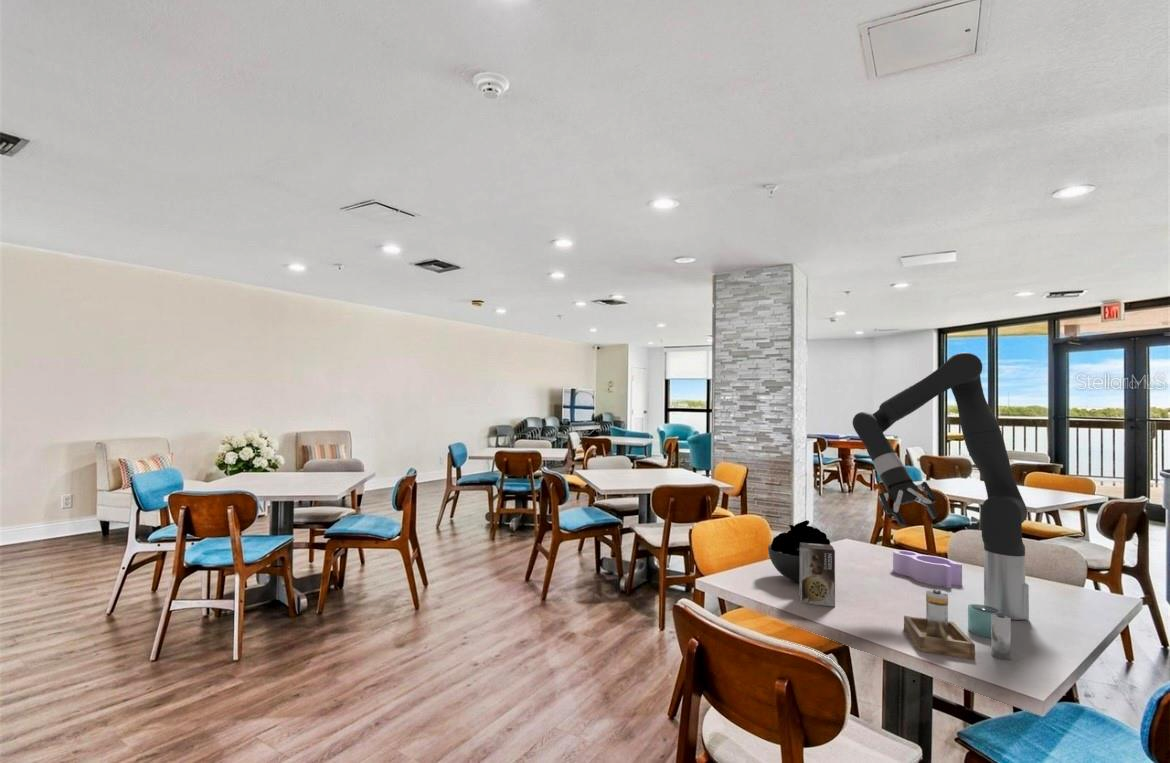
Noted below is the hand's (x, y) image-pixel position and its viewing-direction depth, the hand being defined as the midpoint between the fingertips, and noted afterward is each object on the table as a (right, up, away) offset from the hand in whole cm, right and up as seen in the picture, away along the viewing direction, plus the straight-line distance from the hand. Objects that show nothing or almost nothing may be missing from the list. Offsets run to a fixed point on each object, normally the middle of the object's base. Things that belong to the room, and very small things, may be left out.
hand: (919, 521), depth 157 cm
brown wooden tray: (-11, -23, -25) cm, 35 cm away
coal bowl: (-26, -25, +21) cm, 42 cm away
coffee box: (-29, -24, +2) cm, 37 cm away
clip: (+20, -27, +30) cm, 45 cm away
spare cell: (0, -23, -31) cm, 39 cm away
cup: (+6, -24, -17) cm, 30 cm away
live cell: (-11, -22, -25) cm, 35 cm away
